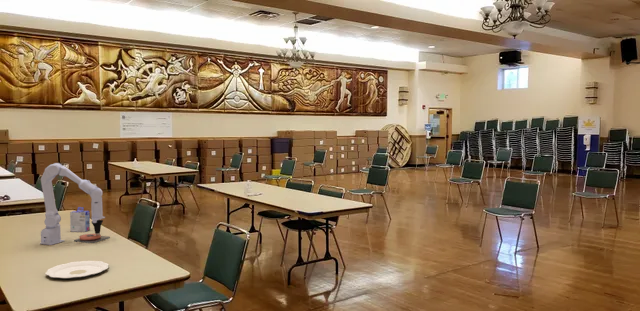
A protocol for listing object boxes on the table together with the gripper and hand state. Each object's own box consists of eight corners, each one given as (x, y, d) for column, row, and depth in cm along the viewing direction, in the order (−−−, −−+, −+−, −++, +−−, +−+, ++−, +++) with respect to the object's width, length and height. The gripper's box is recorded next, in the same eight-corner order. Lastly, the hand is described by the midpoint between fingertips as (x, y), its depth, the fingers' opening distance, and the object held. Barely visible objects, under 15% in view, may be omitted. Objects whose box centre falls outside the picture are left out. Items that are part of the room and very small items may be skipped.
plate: (92, 261, 232) (92, 257, 231) (119, 271, 216) (119, 267, 216) (36, 273, 212) (36, 269, 212) (60, 285, 196) (60, 281, 196)
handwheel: (78, 240, 266) (78, 230, 265) (80, 236, 276) (79, 226, 275) (100, 239, 270) (100, 228, 270) (101, 234, 280) (100, 225, 280)
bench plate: (93, 243, 266) (93, 241, 266) (73, 241, 270) (73, 239, 270) (109, 237, 278) (109, 236, 278) (90, 236, 282) (90, 234, 282)
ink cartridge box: (90, 230, 299) (89, 207, 298) (86, 232, 293) (85, 208, 292) (74, 229, 299) (74, 206, 298) (70, 231, 293) (69, 208, 292)
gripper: (101, 211, 266) (102, 235, 267) (107, 207, 280) (107, 230, 281) (87, 211, 264) (88, 236, 265) (94, 207, 278) (94, 230, 279)
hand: (97, 233), depth 273 cm, fingers closed, pressing on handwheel
